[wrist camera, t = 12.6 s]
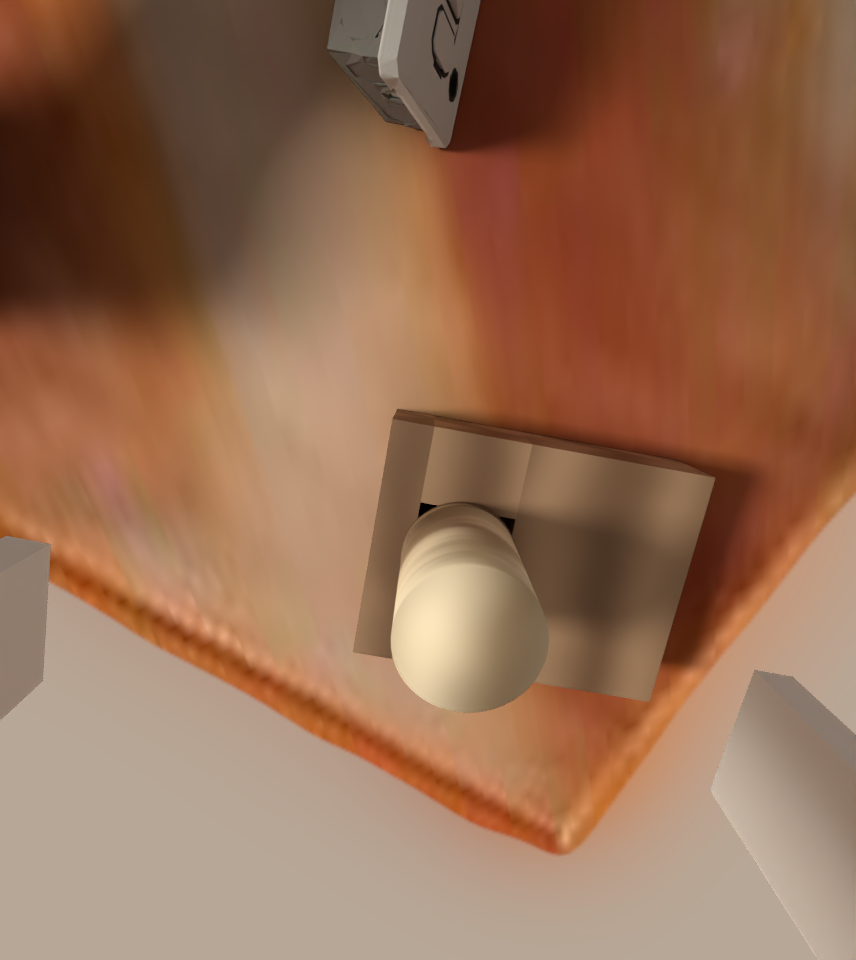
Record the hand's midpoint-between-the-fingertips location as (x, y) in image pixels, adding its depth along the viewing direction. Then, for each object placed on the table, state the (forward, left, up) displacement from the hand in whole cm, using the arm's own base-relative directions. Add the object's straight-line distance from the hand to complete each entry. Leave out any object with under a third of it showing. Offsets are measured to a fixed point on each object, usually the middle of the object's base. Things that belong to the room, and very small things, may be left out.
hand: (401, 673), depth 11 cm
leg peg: (+3, -5, -27) cm, 27 cm away
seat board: (+7, -5, -27) cm, 29 cm away
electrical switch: (-4, +21, -27) cm, 35 cm away
